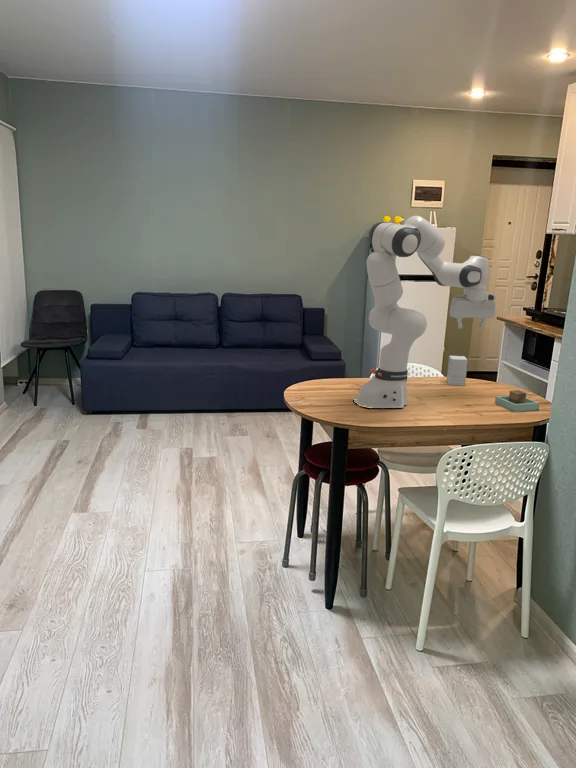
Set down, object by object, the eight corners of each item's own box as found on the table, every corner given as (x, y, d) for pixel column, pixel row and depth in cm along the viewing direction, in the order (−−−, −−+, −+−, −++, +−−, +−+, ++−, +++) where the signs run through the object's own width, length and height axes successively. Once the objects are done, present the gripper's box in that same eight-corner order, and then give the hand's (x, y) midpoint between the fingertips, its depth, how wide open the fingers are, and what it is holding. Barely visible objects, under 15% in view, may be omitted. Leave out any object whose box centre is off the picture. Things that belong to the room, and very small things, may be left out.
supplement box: (462, 382, 273) (465, 356, 270) (465, 386, 266) (468, 359, 263) (446, 381, 274) (448, 355, 271) (448, 385, 267) (451, 358, 263)
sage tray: (514, 412, 230) (515, 405, 230) (494, 403, 241) (495, 396, 240) (538, 410, 234) (539, 403, 233) (518, 401, 245) (519, 394, 244)
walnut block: (515, 406, 235) (517, 393, 233) (508, 403, 239) (509, 390, 237) (524, 406, 236) (526, 393, 235) (517, 402, 240) (519, 390, 239)
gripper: (457, 295, 235) (453, 329, 239) (499, 296, 242) (494, 329, 245) (448, 294, 241) (444, 327, 244) (489, 294, 247) (485, 326, 251)
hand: (470, 328), depth 245 cm, fingers open, 8 cm apart
